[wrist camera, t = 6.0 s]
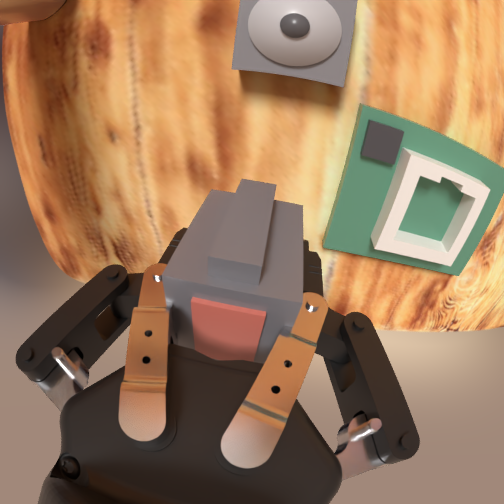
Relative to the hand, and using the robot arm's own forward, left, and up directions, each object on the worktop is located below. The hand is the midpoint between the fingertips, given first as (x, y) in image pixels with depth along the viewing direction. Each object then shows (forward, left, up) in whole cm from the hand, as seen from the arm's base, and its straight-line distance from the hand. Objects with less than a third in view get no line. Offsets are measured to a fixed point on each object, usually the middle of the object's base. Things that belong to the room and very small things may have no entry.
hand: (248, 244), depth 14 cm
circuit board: (+15, 0, -12) cm, 19 cm away
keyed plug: (0, 0, 0) cm, 0 cm away
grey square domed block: (0, +12, -12) cm, 17 cm away
